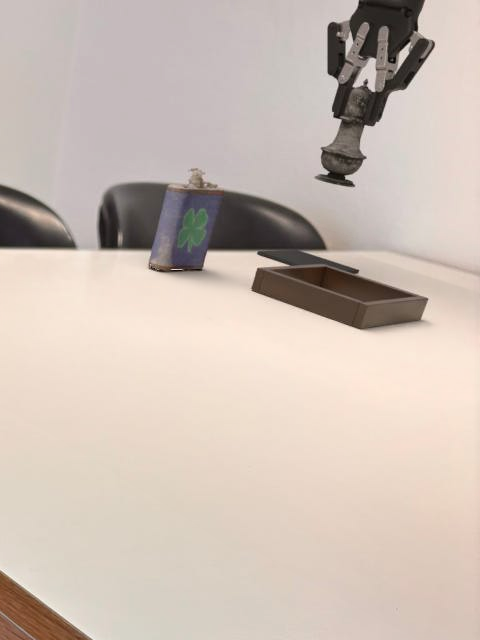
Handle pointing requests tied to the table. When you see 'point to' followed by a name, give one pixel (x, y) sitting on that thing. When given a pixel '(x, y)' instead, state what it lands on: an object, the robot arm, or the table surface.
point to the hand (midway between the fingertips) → (353, 121)
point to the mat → (302, 259)
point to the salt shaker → (347, 141)
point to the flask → (186, 224)
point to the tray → (339, 295)
